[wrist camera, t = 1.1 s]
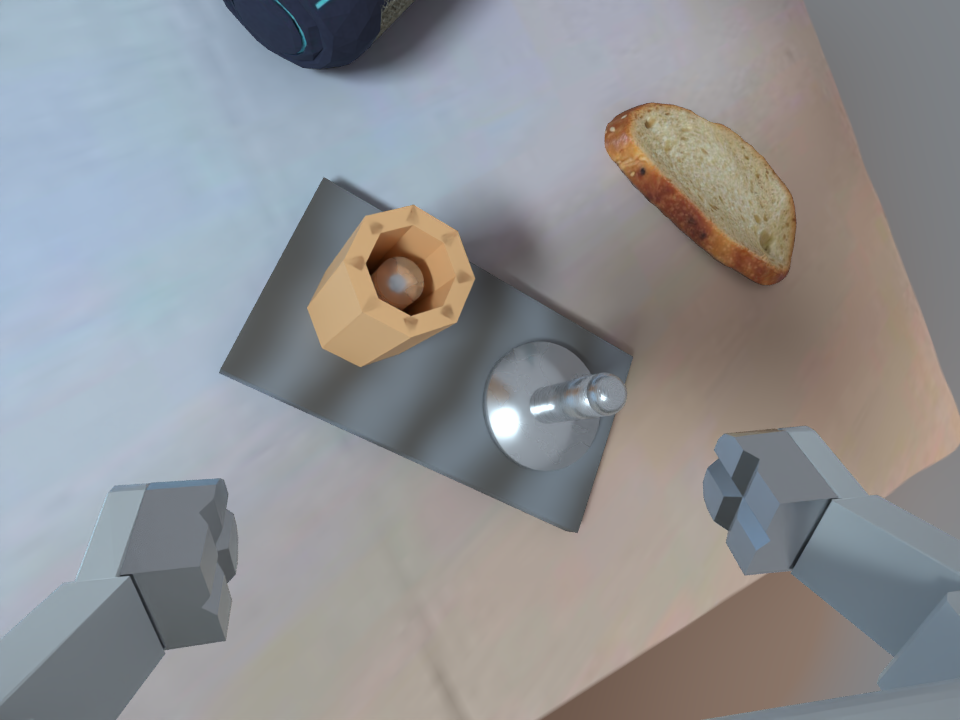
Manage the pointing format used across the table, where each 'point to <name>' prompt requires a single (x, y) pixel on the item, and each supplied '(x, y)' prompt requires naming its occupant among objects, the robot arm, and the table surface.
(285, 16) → the portable speaker
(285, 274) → the board
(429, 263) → the sleeve
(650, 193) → the slice of bread
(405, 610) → the table surface
